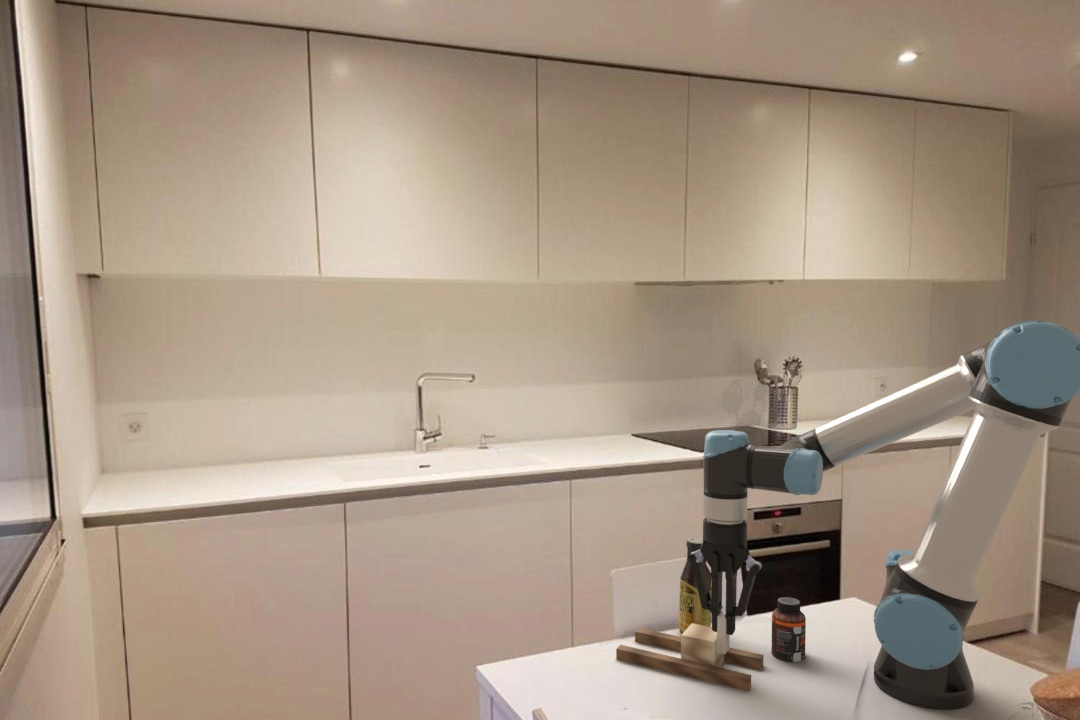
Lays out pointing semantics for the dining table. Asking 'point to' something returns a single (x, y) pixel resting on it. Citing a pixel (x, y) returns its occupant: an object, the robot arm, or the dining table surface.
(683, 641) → the block
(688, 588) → the sauce bottle
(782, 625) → the supplement bottle
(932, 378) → the robot arm
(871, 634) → the dining table surface
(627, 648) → the walnut chute
